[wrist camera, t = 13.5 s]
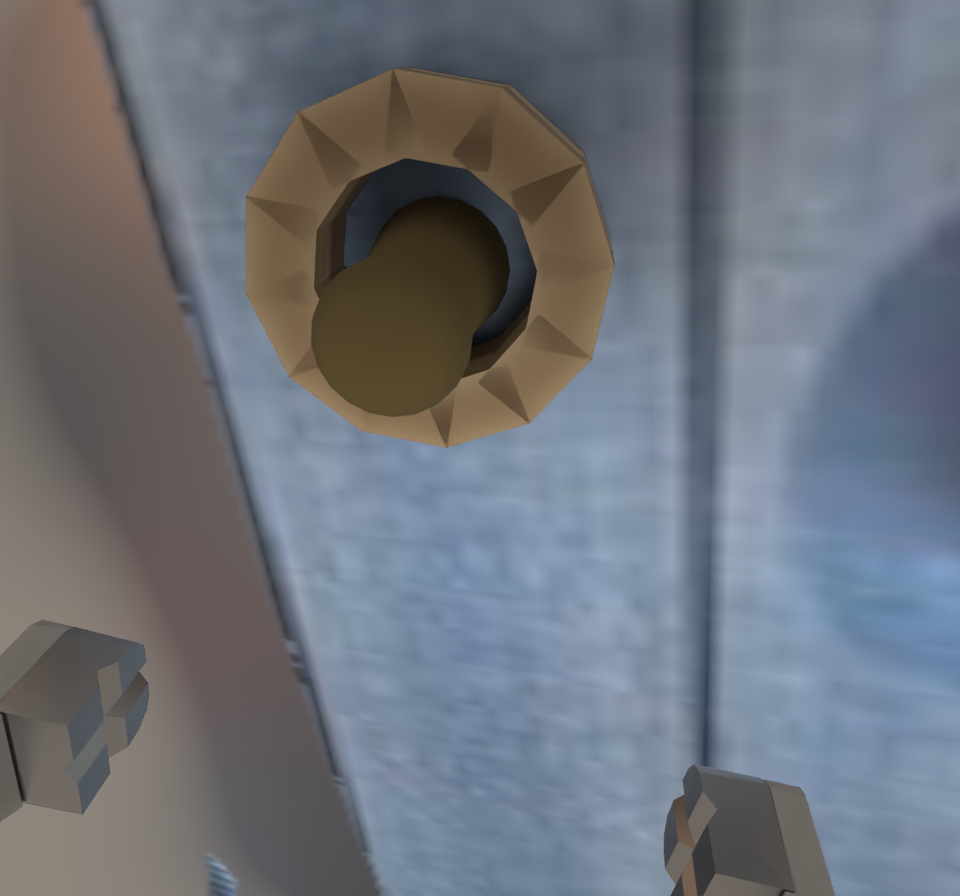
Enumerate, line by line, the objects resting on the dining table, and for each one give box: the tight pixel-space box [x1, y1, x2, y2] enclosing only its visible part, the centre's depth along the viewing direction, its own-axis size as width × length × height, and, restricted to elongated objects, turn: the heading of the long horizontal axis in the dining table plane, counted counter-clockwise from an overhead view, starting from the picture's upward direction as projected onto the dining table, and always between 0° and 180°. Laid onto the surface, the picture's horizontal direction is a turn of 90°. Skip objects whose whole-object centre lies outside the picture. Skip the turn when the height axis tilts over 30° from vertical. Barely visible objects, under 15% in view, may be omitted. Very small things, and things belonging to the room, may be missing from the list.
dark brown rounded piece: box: [311, 196, 510, 417], centre depth 27 cm, size 6×6×11 cm
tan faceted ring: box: [246, 68, 615, 448], centre depth 30 cm, size 14×14×4 cm
